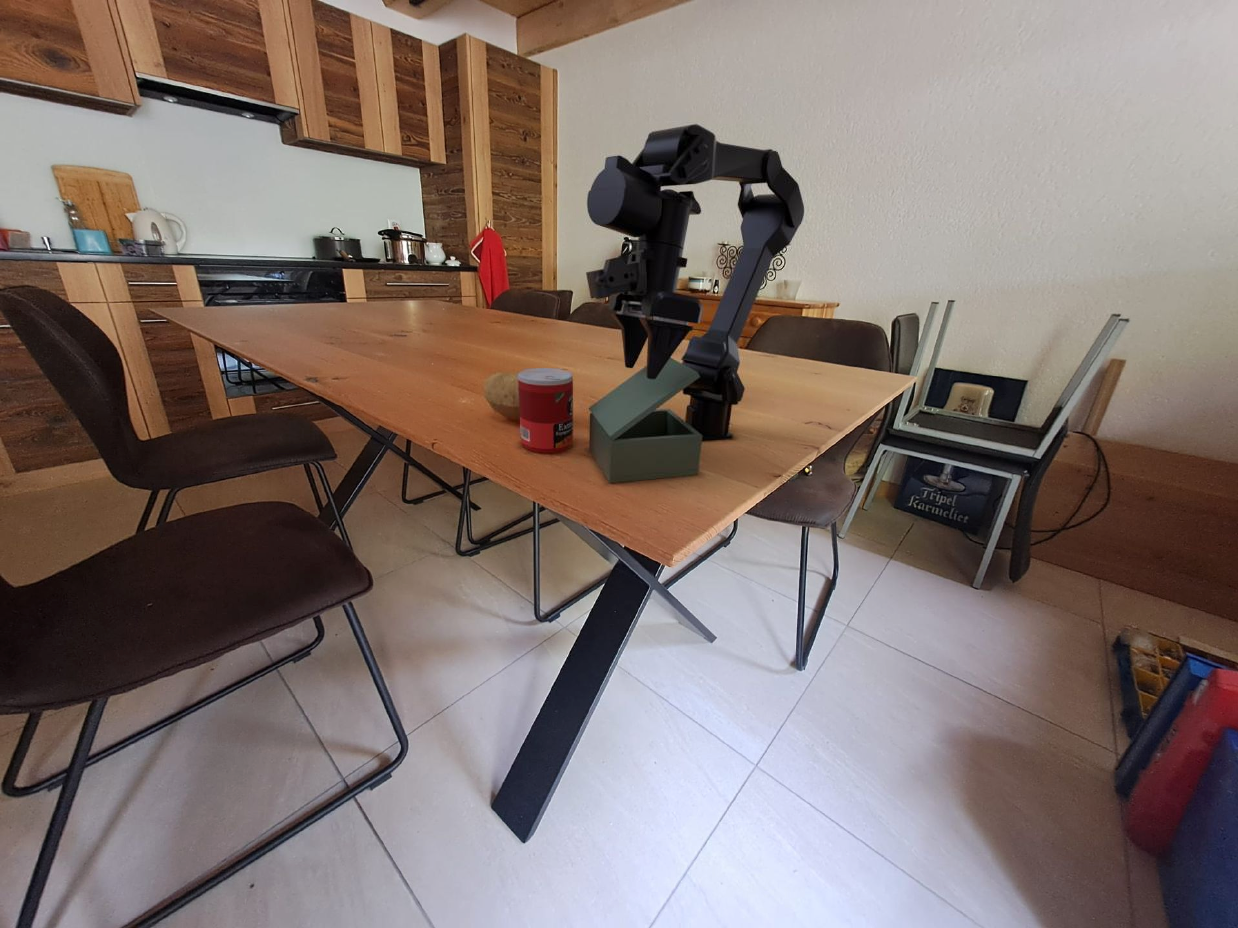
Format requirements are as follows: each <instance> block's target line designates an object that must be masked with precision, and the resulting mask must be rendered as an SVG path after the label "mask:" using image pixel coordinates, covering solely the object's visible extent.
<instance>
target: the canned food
mask: <svg viewBox="0 0 1238 928" xmlns="http://www.w3.org/2000/svg"><path fill="white" fill-rule="evenodd" d="M517 374H518V393H519V411H520V422H519V427H520V428H519V429H520V442H521V445H522V447H523V448H525V449H526V450H527V451H530V452H533V453H537V454H544V455H545V454H546V455H547V454H549V455H551V454H558V453H562V452H566V451H567V450H568V449H570V448H571V446H572V445H573V440H574V378H573V374H572V372H570V371H567V370H564V369H559V368H551V367H537V368H536V367H535V368H527V369H523V370H521V371H519V372H518V373H517Z"/></svg>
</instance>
